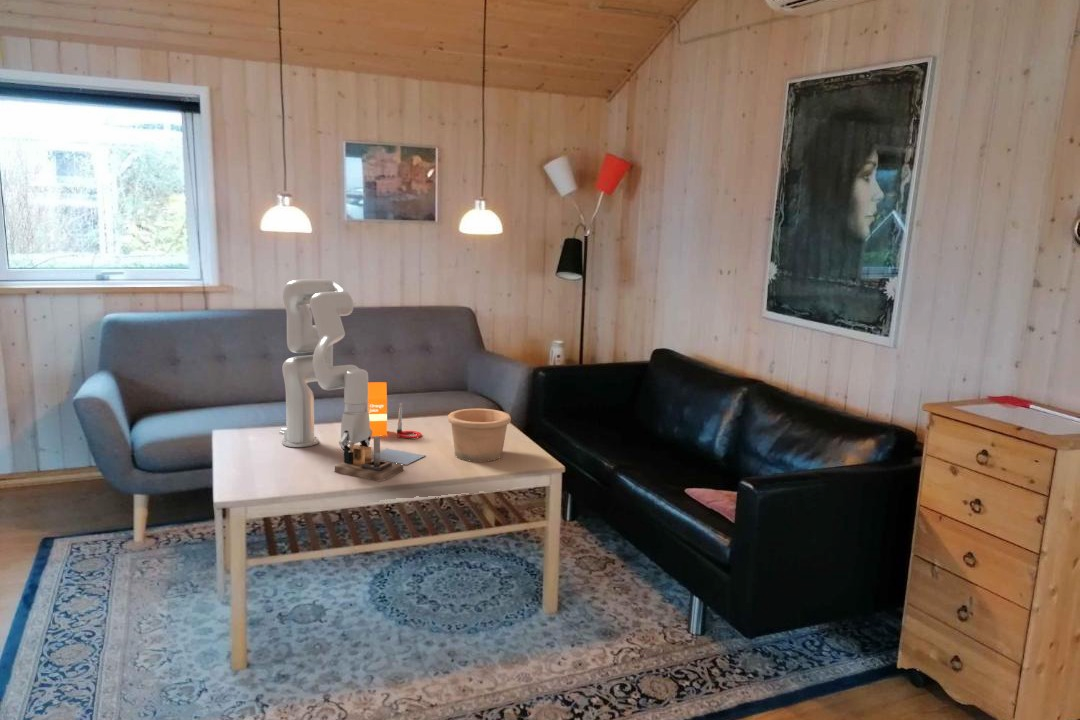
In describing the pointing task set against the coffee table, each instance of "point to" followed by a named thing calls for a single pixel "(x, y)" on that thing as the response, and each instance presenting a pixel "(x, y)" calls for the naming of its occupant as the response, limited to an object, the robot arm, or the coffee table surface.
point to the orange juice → (377, 407)
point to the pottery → (478, 433)
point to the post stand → (367, 473)
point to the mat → (398, 456)
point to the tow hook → (399, 430)
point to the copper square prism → (367, 459)
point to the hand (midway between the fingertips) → (356, 459)
